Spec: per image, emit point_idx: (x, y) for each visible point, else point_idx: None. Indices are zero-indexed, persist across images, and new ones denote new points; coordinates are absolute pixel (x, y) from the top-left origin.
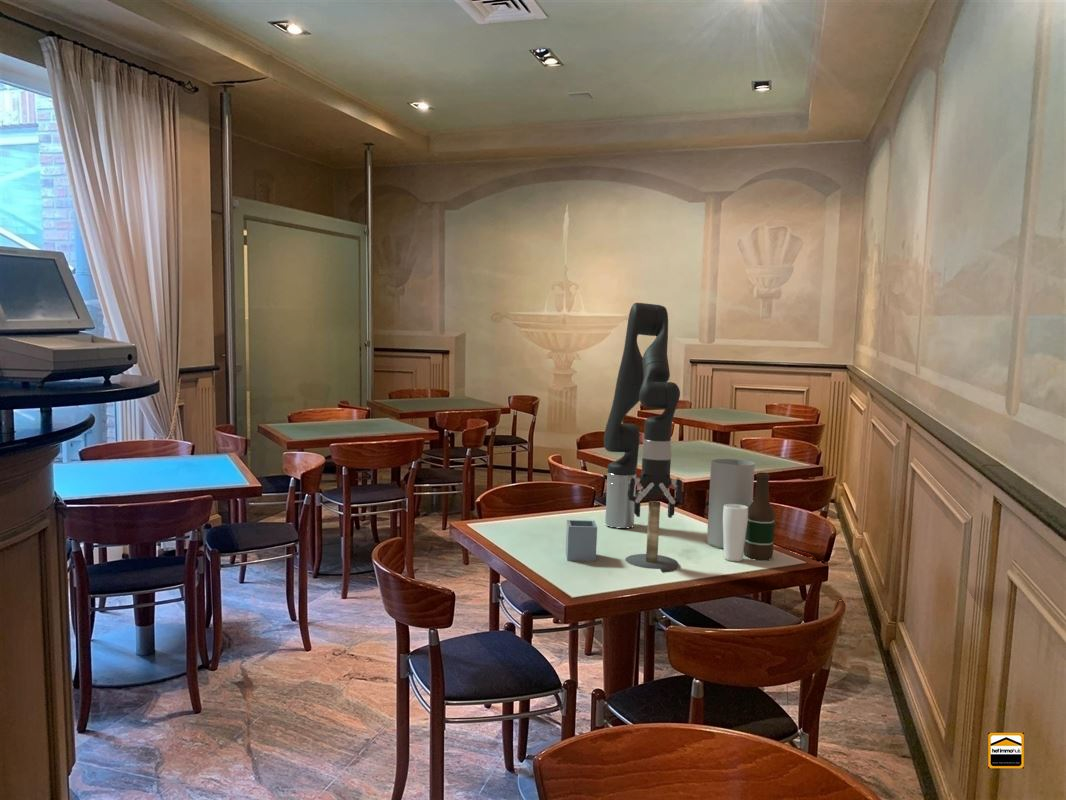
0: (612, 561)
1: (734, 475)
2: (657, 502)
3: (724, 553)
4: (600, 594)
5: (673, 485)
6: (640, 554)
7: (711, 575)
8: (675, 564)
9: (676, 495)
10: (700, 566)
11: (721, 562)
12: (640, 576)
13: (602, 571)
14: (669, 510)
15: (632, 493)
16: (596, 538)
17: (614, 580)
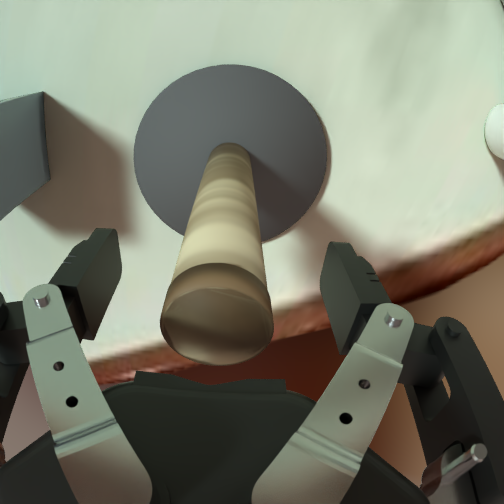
0: (96, 137)
1: None
2: (243, 339)
3: (493, 131)
4: (92, 366)
5: (433, 472)
6: (205, 72)
7: (376, 266)
8: (306, 201)
9: (443, 361)
10: (390, 186)
11: (464, 151)
12: (170, 280)
13: (72, 242)
14: (330, 316)
15: (10, 393)
16: (3, 217)
17: None
